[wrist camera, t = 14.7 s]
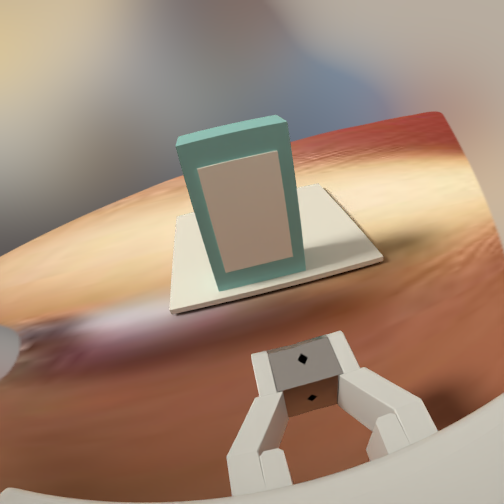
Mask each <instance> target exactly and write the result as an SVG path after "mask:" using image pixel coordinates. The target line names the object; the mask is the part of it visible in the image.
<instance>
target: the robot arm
mask: <svg viewBox="0 0 504 504" xmlns="http://www.w3.org/2000/svg"><path fill="white" fill-rule="evenodd" d="M267 353H268V354H267ZM268 357H269V358H268ZM251 359H252V364H253V368H254V373H255V378H256V383H257V387H258V392H259V397H256V398H255V399H254V401H253V403H252V406H251V408H250V410H249V412H248V414H247V416H246V418H245V420H244V422H243V424H242V427H241V429H240V431H239V433H238V435H237V437H236V439H235V441H234V443H233V445H232V447H231V449H230V451H229V453H228V455H227V464H228V471H229V478H230V485H231V491H232V496H231V497H223V498H215V499H206V500H195V501H180V502H153V503H135V502H109V501H95V500H84V499H75V498H67V497H60V496H53V495H47V494H42V493H36V492H31V491H27V490H22V489H18V488H11V487H9V488H6V489H5V490H4V491H3V492H2V493H1V494H0V504H504V393H502V394H501V395H499V396H498V397H496V398H495V399H493V400H492V401H490V402H489V403H487V404H485V405H484V406H482V407H481V408H479V409H477V410H476V411H474V412H472V413H471V414H469V415H467V416H465V417H464V418H462V419H460V420H458V421H457V422H455V423H453V424H451V425H449V426H447V427H446V428H444V429H442V430H440V431H438V430H437V428H436V426H435V424H434V422H433V421H432V419H431V417H430V415H429V413H428V411H427V409H426V407H425V405H424V403H423V402H422V400H421V399H420V398H419V397H417V396H415V395H413V394H411V393H410V392H408V391H406V390H404V389H402V388H401V387H399V386H397V385H395V384H394V383H392V382H390V381H388V380H387V379H385V378H383V377H381V376H380V375H378V374H376V373H374V372H373V371H371V370H369V369H367V368H366V367H363V368H360V366H359V364H358V362H357V360H356V358H355V356H354V354H353V352H352V350H351V348H350V346H349V344H348V342H347V340H346V338H345V336H344V334H343V332H342V331H337V332H334V333H331V334H327V335H323V336H319V337H316V338H313V339H309V340H306V341H302V342H299V343H296V344H294V345H289V346H285V347H281V348H276V349H272V350H267V351H263V352H259V353H254V354H251ZM335 404H338V406H340V407H341V408H342V409H344V410H345V411H346V412H347V413H349V414H350V415H351V416H353V417H354V418H355V419H357V420H358V421H359V422H361V423H362V424H363V425H365V426H366V427H367V428H369V429H370V430H371V431H373V432H372V435H371V437H370V440H369V443H368V445H367V448H366V451H367V454H368V456H369V459H370V462H367V463H364V464H361V465H358V466H356V467H353V468H350V469H347V470H344V471H341V472H337V473H334V474H331V475H328V476H324V477H321V478H317V479H314V480H310V481H306V482H302V483H298V484H294V485H293V481H292V477H291V474H290V470H289V467H288V464H287V461H286V457H285V454H284V451H283V450H281V449H278V448H279V446H280V443H281V440H282V437H283V434H284V431H285V428H286V426H287V423H288V420H289V417H293V416H296V415H300V414H303V413H306V412H310V411H313V410H317V409H320V408H324V407H328V406H331V405H335Z"/></svg>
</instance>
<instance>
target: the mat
mask: <svg viewBox="0 0 504 504" xmlns="http://www.w3.org/2000/svg"><path fill="white" fill-rule="evenodd" d="M297 195H298V203H299V211H300V219H301V228H302V237H303V246H304V255H305V265H306V271H302V272H298V273H294V274H290V275H286V276H282V277H278V278H274V279H270V280H266V281H262V282H258V283H254V284H249V285H245V286H241V287H237V288H233V289H229V290H224V291H220V292H219V290H218V287H217V284H216V281H215V278H214V275H213V272H212V268H211V265H210V262H209V259H208V256H207V252H206V249H205V246H204V243H203V239H202V236H201V233H200V230H199V226H198V223H197V220H196V216H195V213H194V212H192V213H189V214H185V215H181V216H177V220H176V230H175V241H174V252H173V265H172V279H171V295H170V312H171V314H176V313H180V312H185V311H189V310H194V309H198V308H203V307H207V306H211V305H216V304H220V303H224V302H228V301H233V300H237V299H241V298H245V297H249V296H253V295H257V294H262V293H266V292H270V291H274V290H278V289H281V288H285V287H289V286H293V285H297V284H301V283H305V282H309V281H312V280H316V279H320V278H324V277H327V276H331V275H335V274H339V273H342V272H346V271H349V270H353V269H357V268H360V267H364V266H367V265H371V264H374V263H378V262H381V261H383V255H382V254H381V253H380V252H379V251H378V249H377V248H376V247H375V246H374V245H373V244H372V242H371V241H370V240H369V239H368V238H367V237H366V235H365V234H364V233H363V232H362V231H361V230H360V228H359V227H358V226H357V225H356V224H355V223H354V222H353V221H352V219H351V218H350V217H349V216H348V215H347V214H346V213H345V212H344V211H343V209H342V208H341V207H340V206H339V205H338V204H337V203H336V202H335V201H334V200H333V199H332V197H331V196H330V195H329V194H328V193H327V192H326V191H325V190H324V189H323V188H322V187H321V186H320V185H319V184H313V185H309V186H304V187H299V188H297Z"/></svg>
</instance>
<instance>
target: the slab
mask: <svg viewBox="0 0 504 504" xmlns="http://www.w3.org/2000/svg"><path fill="white" fill-rule="evenodd" d="M176 150H177V153H178V157H179V161H180V164H181V168H182V171H183V175H184V178H185V182H186V185H187V189H188V192H189V196H190V199H191V203H192V206H193V209H194V213H195V216H196V220H197V223H198V226H199V230H200V233H201V236H202V239H203V243H204V246H205V249H206V252H207V256H208V259H209V262H210V265H211V268H212V272H213V275H214V278H215V281H216V284H217V287H218V290H219V292H220V291H224V290H229V289H233V288H237V287H241V286H245V285H249V284H254V283H258V282H262V281H266V280H270V279H274V278H278V277H282V276H286V275H290V274H294V273H298V272H302V271H306V265H305V255H304V246H303V237H302V228H301V219H300V211H299V203H298V195H297V187H296V180H295V172H294V165H293V158H292V151H291V144H290V138H289V131H288V124H287V121H285V120H284V119H282V118H280V117H279V116H277V115H273V116H267V117H262V118H258V119H252V120H247V121H242V122H238V123H233V124H229V125H224V126H219V127H215V128H211V129H207V130H203V131H199V132H195V133H191V134H187V135H183V136H179V137H178V140H177V143H176Z"/></svg>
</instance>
